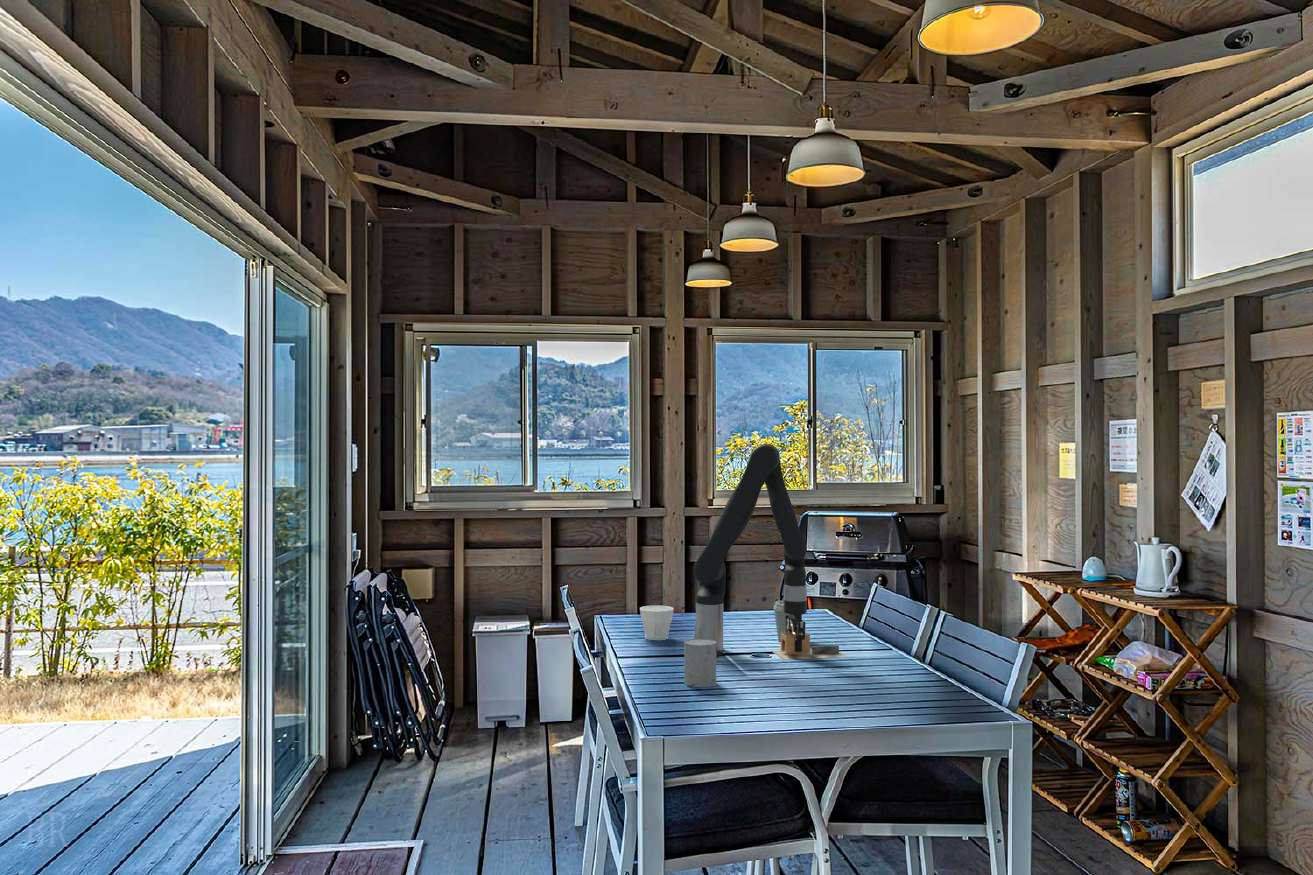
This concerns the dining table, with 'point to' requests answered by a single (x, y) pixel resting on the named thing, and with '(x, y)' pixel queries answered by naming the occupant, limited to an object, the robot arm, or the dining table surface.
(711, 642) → the grey cylinder
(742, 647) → the dining table surface
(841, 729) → the dining table surface
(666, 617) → the cup
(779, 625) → the disposable coffee cup
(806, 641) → the cardboard box
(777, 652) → the board
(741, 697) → the dining table surface
